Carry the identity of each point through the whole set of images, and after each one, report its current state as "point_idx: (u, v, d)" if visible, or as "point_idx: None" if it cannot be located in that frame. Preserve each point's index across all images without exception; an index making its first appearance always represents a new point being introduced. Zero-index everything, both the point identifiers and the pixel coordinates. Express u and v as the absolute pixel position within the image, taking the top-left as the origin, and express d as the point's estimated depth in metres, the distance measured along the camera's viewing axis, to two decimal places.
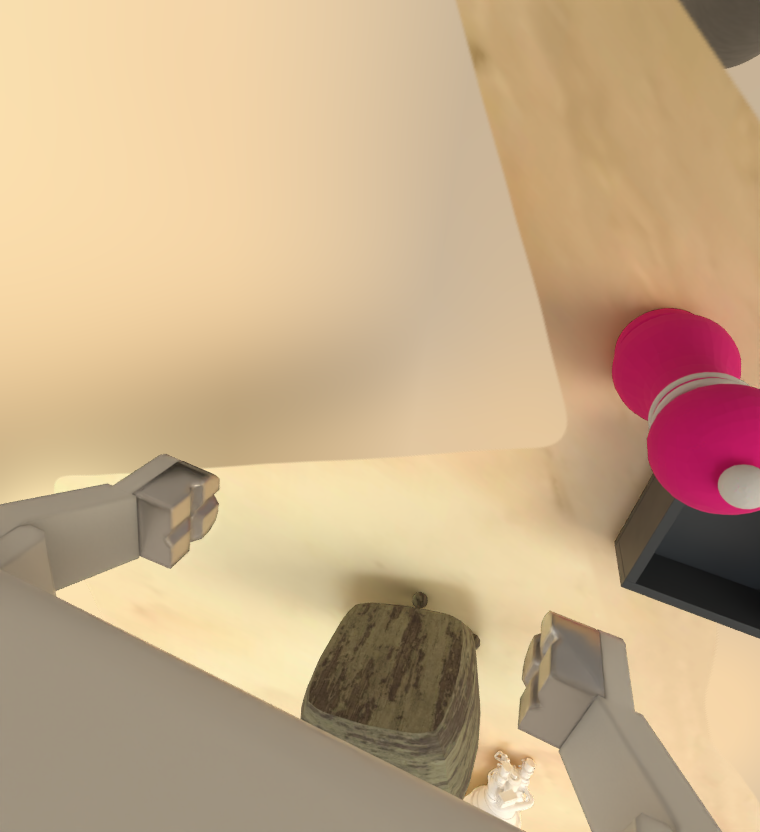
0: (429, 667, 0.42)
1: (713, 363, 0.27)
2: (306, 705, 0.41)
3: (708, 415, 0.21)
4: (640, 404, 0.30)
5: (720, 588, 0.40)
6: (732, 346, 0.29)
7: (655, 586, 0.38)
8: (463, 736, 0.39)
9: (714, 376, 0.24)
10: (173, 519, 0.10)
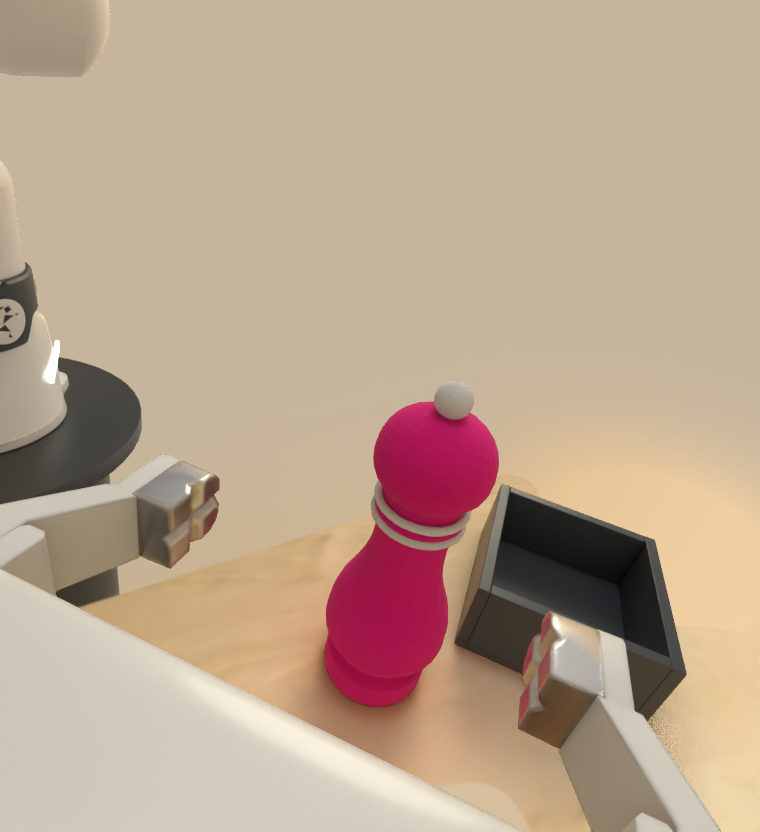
0: None
1: None
2: None
3: (396, 437, 0.22)
4: (420, 608, 0.26)
5: (632, 607, 0.37)
6: None
7: (661, 642, 0.31)
8: None
9: (374, 499, 0.25)
10: (174, 519, 0.10)
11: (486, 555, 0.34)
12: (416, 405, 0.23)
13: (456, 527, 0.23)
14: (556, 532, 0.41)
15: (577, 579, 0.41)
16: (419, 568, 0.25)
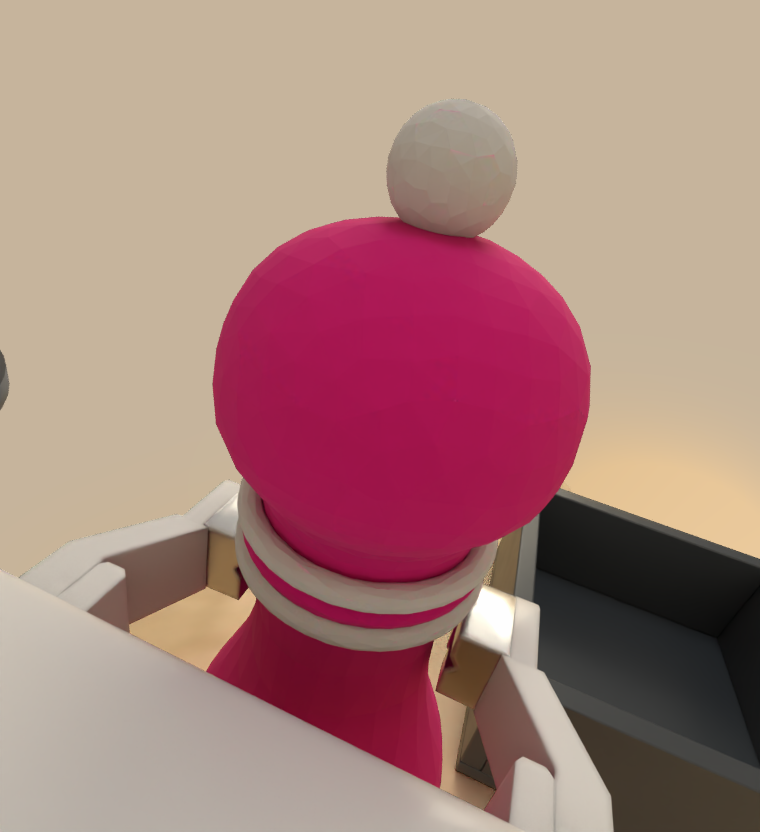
0: None
1: None
2: None
3: (255, 291, 0.06)
4: None
5: None
6: None
7: None
8: None
9: None
10: None
11: None
12: None
13: (461, 583, 0.08)
14: (616, 555, 0.26)
15: (652, 630, 0.25)
16: (361, 687, 0.09)
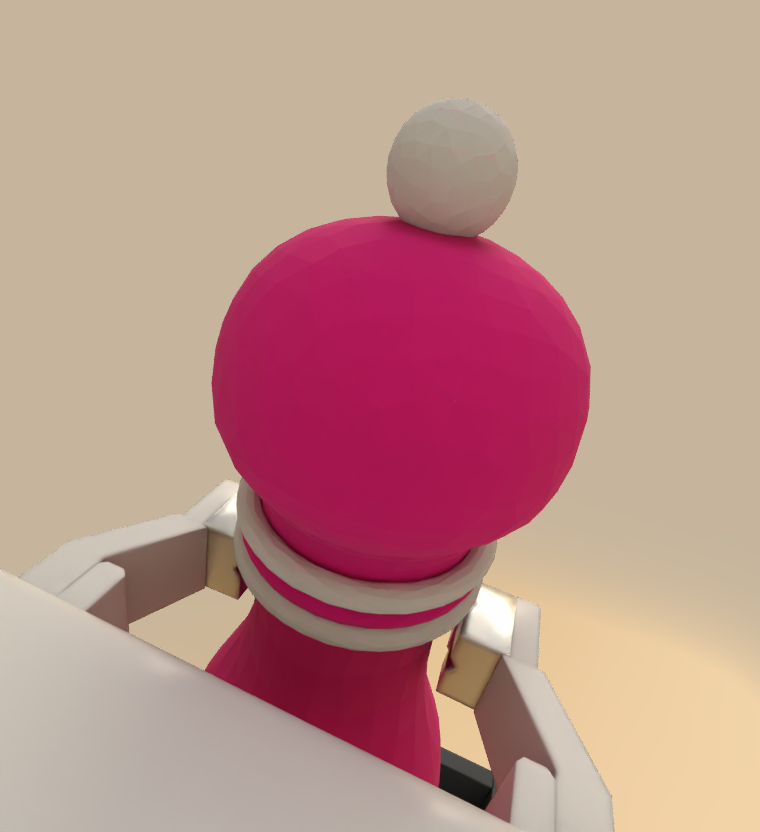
0: None
1: None
2: None
3: (254, 289, 0.06)
4: None
5: None
6: None
7: None
8: None
9: None
10: None
11: None
12: None
13: (460, 583, 0.08)
14: None
15: None
16: (359, 687, 0.09)
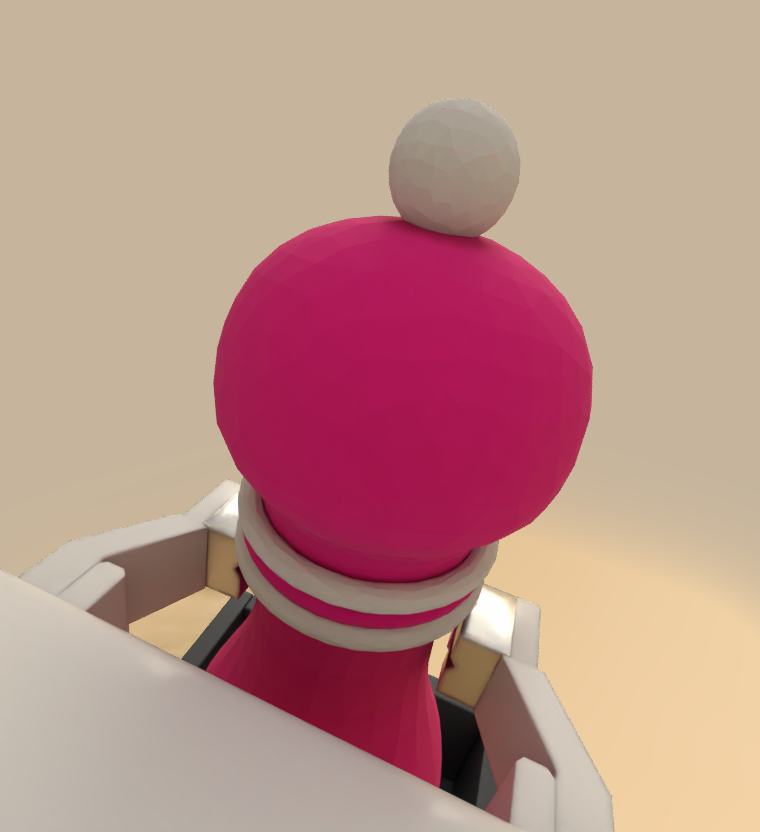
0: None
1: None
2: None
3: (256, 290, 0.06)
4: None
5: None
6: None
7: None
8: None
9: None
10: None
11: None
12: None
13: (462, 583, 0.08)
14: None
15: None
16: (361, 687, 0.09)
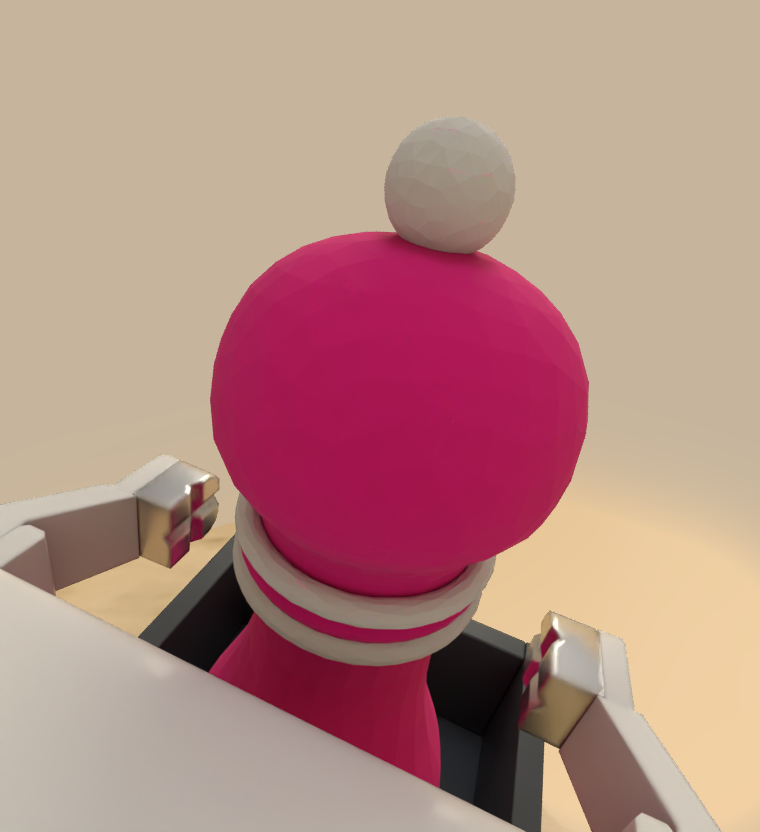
0: None
1: None
2: None
3: (253, 309, 0.06)
4: None
5: None
6: None
7: None
8: None
9: None
10: (173, 519, 0.10)
11: None
12: None
13: (459, 597, 0.08)
14: None
15: None
16: (359, 699, 0.09)
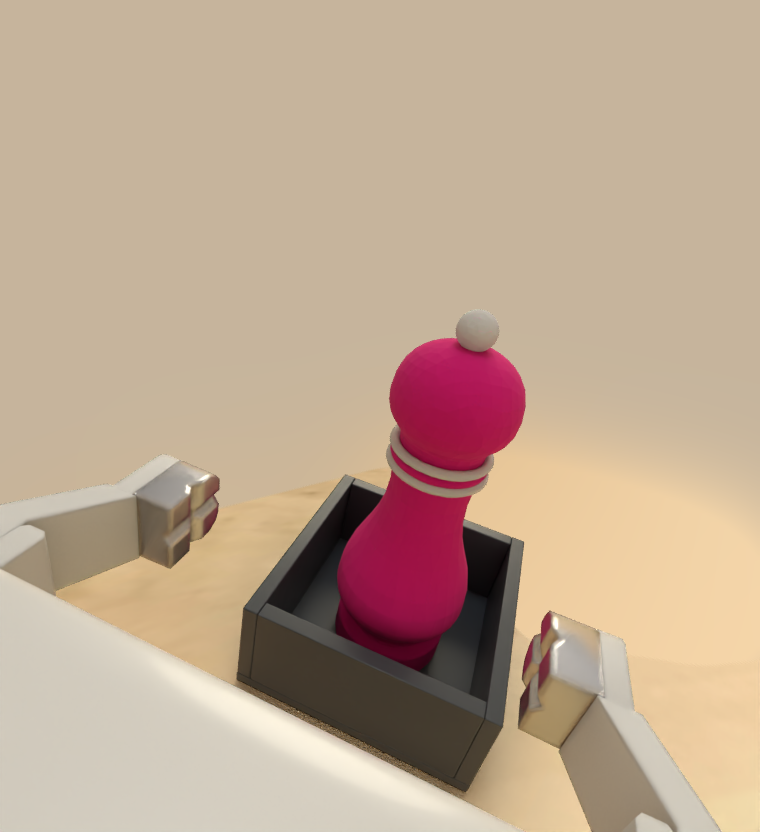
0: None
1: None
2: None
3: (415, 370, 0.20)
4: (440, 565, 0.24)
5: (486, 627, 0.29)
6: None
7: (488, 678, 0.23)
8: None
9: (389, 447, 0.23)
10: (173, 519, 0.10)
11: (277, 563, 0.26)
12: (435, 340, 0.22)
13: (480, 472, 0.22)
14: None
15: None
16: (438, 520, 0.23)
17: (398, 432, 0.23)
